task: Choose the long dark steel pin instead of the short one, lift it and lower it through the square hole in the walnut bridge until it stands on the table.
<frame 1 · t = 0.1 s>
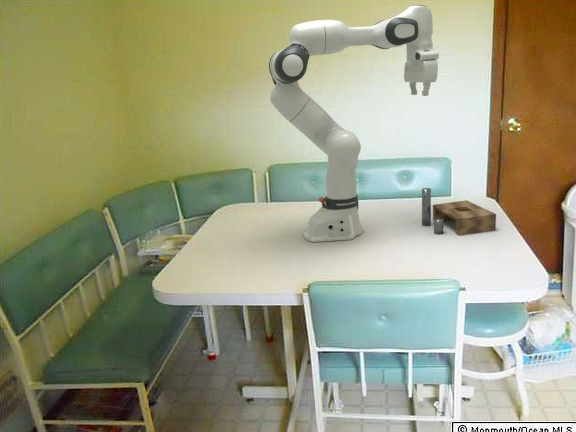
hand: (419, 95, 174), 48 cm above the table, tool pointing down, fingers open, 8 cm apart
short pin: (438, 233, 174), on the table
bridge: (462, 224, 180), on the table
long pin: (426, 224, 184), on the table
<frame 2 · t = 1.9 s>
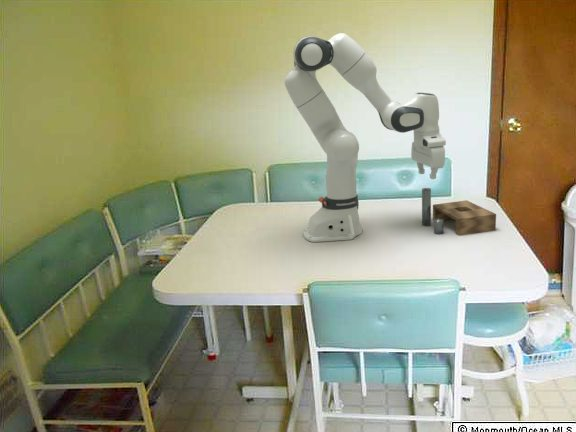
hand: (427, 176, 178), 19 cm above the table, tool pointing down, fingers open, 8 cm apart
nothing on the table moved.
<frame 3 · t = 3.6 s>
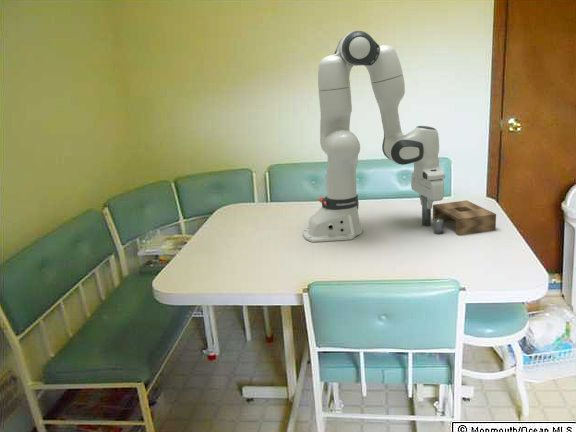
hand: (426, 206, 181), 7 cm above the table, tool pointing down, fingers closed on long pin, 3 cm apart
long pin: (426, 224, 184), on the table, touching gripper
everything else where it was.
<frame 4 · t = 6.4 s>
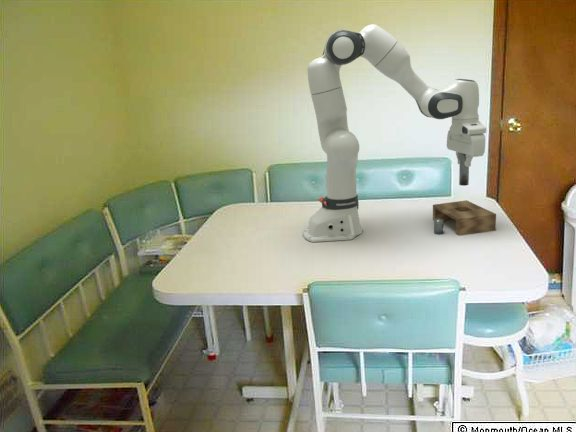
hand: (464, 165, 174), 22 cm above the table, tool pointing down, fingers closed on long pin, 3 cm apart
long pin: (463, 184, 176), point 15 cm above the table, touching gripper
everything else where it was.
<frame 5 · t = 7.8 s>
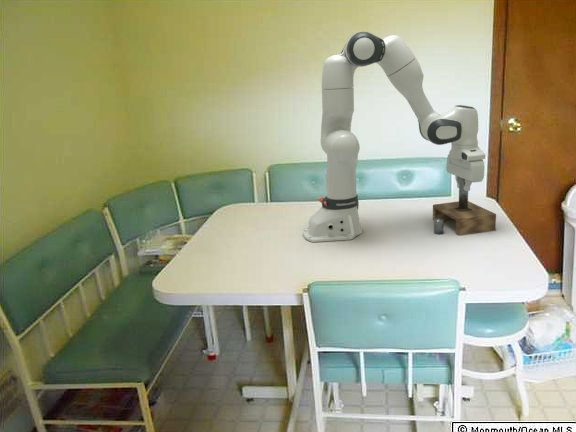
hand: (463, 189, 177), 14 cm above the table, tool pointing down, fingers closed on long pin, 3 cm apart
long pin: (463, 208, 179), point 6 cm above the table, touching gripper
everything else where it was.
when the fingers open (9 cm above the table, at t = 9.1 s): long pin drops 1 cm, on the table.
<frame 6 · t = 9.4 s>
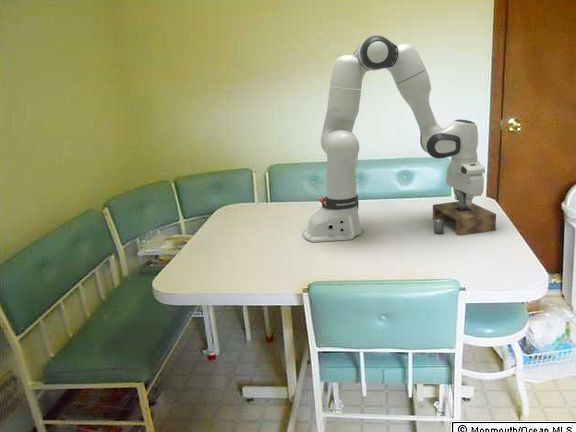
hand: (463, 202, 178), 9 cm above the table, tool pointing down, fingers open, 6 cm apart
long pin: (462, 224, 180), on the table
everything else where it was.
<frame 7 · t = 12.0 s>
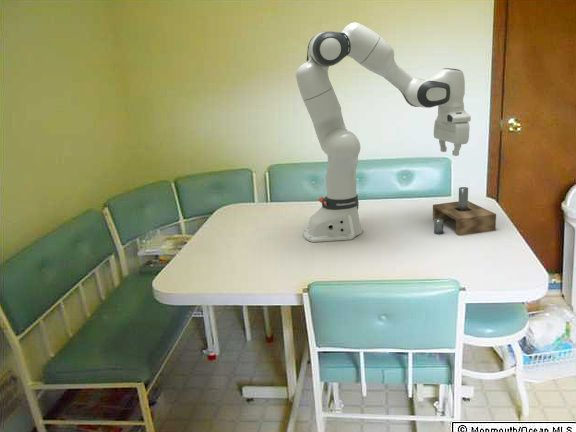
hand: (449, 153, 178), 26 cm above the table, tool pointing down, fingers open, 8 cm apart
nothing on the table moved.
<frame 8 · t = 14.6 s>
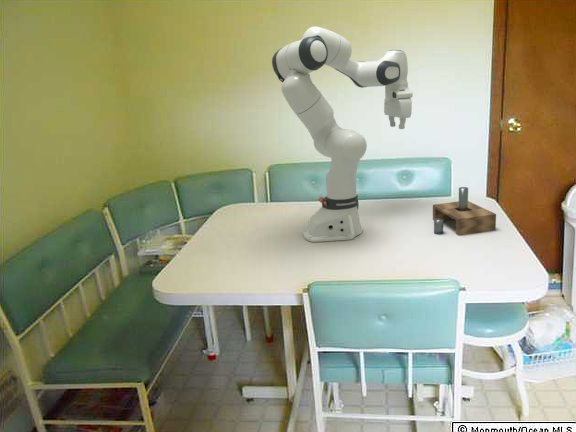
hand: (397, 127, 197), 34 cm above the table, tool pointing down, fingers open, 8 cm apart
nothing on the table moved.
at the end: long pin 0.0 cm from the bridge (horizontally); long pin on the table; long pin tilted 0° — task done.
